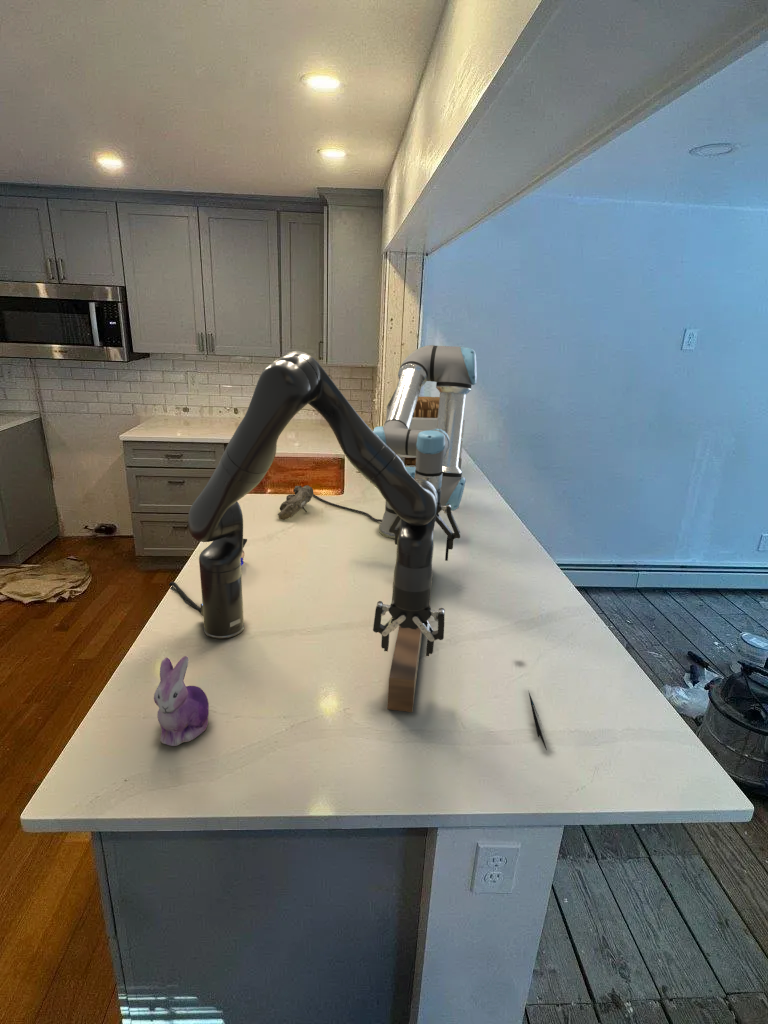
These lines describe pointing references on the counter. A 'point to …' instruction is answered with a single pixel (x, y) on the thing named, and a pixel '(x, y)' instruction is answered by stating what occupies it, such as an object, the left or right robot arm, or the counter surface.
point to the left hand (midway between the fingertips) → (407, 651)
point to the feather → (536, 721)
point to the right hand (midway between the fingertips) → (422, 556)
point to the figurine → (179, 705)
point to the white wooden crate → (424, 422)
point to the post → (404, 670)
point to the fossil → (295, 502)
